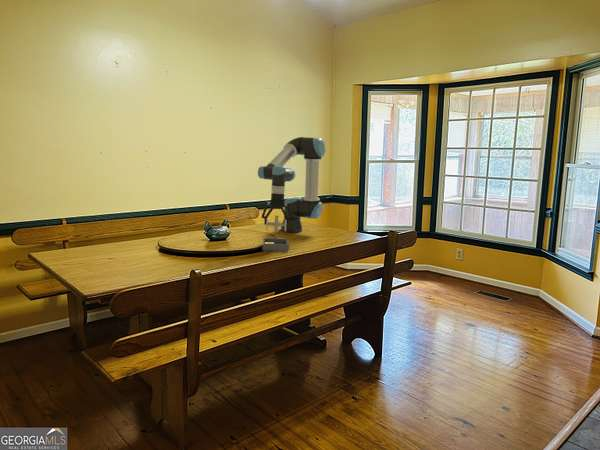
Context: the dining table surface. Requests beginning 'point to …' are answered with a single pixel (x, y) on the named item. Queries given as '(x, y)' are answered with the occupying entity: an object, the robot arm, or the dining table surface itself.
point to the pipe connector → (276, 224)
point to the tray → (276, 244)
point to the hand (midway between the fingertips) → (275, 230)
